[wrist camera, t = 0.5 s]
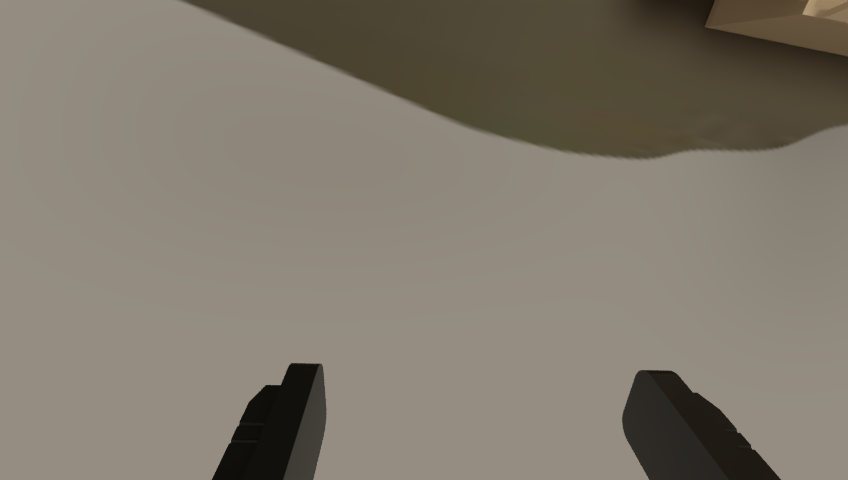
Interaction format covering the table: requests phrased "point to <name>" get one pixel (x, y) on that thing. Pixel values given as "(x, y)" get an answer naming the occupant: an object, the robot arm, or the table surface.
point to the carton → (783, 22)
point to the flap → (838, 13)
